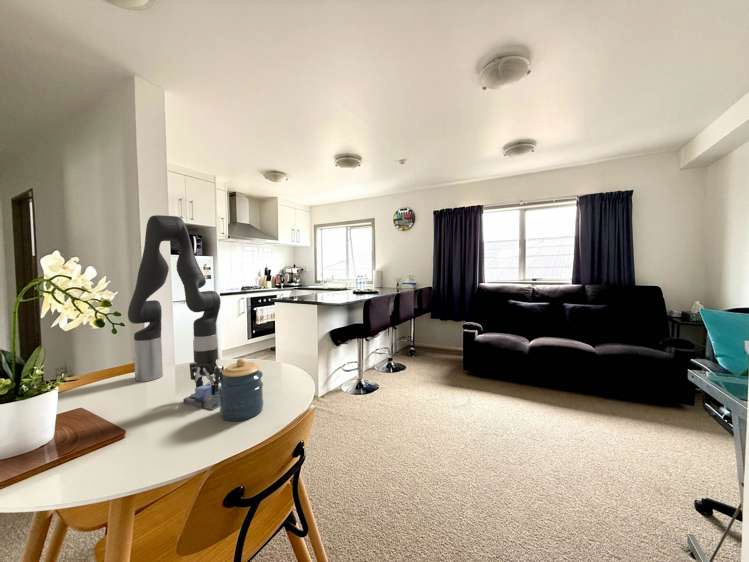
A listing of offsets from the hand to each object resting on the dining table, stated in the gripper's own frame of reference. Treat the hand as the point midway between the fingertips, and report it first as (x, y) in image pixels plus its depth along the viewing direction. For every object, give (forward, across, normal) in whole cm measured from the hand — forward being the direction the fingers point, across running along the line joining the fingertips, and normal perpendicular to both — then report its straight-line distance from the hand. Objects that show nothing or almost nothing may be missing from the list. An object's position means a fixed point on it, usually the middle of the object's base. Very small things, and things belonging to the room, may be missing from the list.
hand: (207, 392), depth 108 cm
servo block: (+2, 0, 0) cm, 2 cm away
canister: (+3, +19, -3) cm, 19 cm away
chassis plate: (+2, +2, 0) cm, 3 cm away
